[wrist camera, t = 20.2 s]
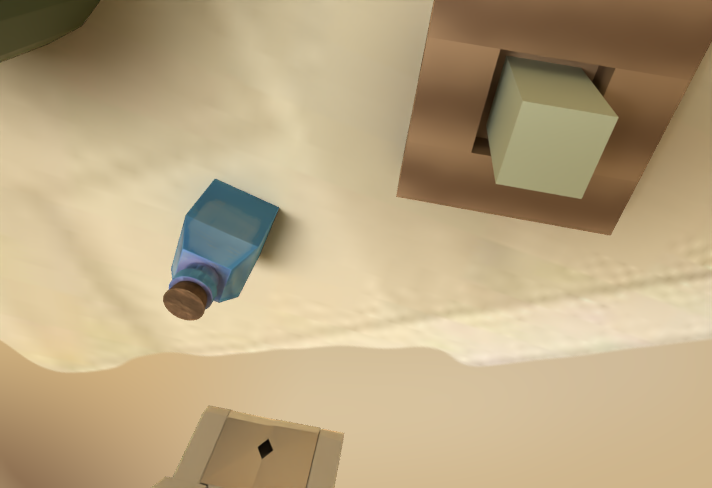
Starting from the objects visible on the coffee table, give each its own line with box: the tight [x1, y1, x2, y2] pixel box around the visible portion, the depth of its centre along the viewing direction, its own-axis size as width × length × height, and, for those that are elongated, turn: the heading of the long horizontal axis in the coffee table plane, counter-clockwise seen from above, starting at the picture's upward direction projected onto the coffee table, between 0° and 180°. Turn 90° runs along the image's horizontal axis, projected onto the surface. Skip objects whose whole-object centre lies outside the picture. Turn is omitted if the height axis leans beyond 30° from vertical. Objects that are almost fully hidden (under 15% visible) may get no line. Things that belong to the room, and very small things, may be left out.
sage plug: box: [486, 55, 619, 199], centre depth 31 cm, size 5×5×9 cm
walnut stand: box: [396, 0, 712, 235], centre depth 34 cm, size 16×16×4 cm
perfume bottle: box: [163, 179, 279, 320], centre depth 42 cm, size 6×6×12 cm
